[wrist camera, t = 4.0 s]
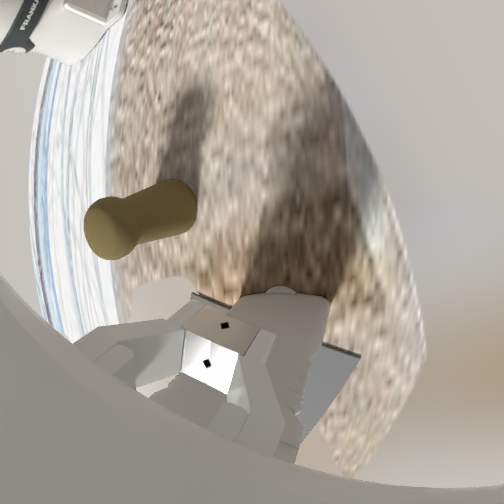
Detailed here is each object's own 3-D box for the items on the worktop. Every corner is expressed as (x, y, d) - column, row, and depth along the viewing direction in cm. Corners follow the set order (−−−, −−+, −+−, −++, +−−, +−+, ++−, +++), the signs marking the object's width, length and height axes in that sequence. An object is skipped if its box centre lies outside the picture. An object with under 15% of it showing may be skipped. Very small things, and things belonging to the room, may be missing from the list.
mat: (192, 292, 32) (191, 293, 32) (360, 357, 27) (360, 359, 27) (180, 401, 41) (179, 402, 40) (294, 449, 36) (294, 451, 36)
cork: (204, 228, 29) (131, 266, 19) (160, 239, 31) (88, 274, 22) (188, 172, 28) (107, 185, 18) (145, 188, 30) (67, 207, 20)
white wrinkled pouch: (334, 284, 26) (258, 525, 6) (335, 321, 27) (270, 544, 8) (231, 285, 30) (74, 441, 10) (237, 318, 31) (107, 478, 11)
